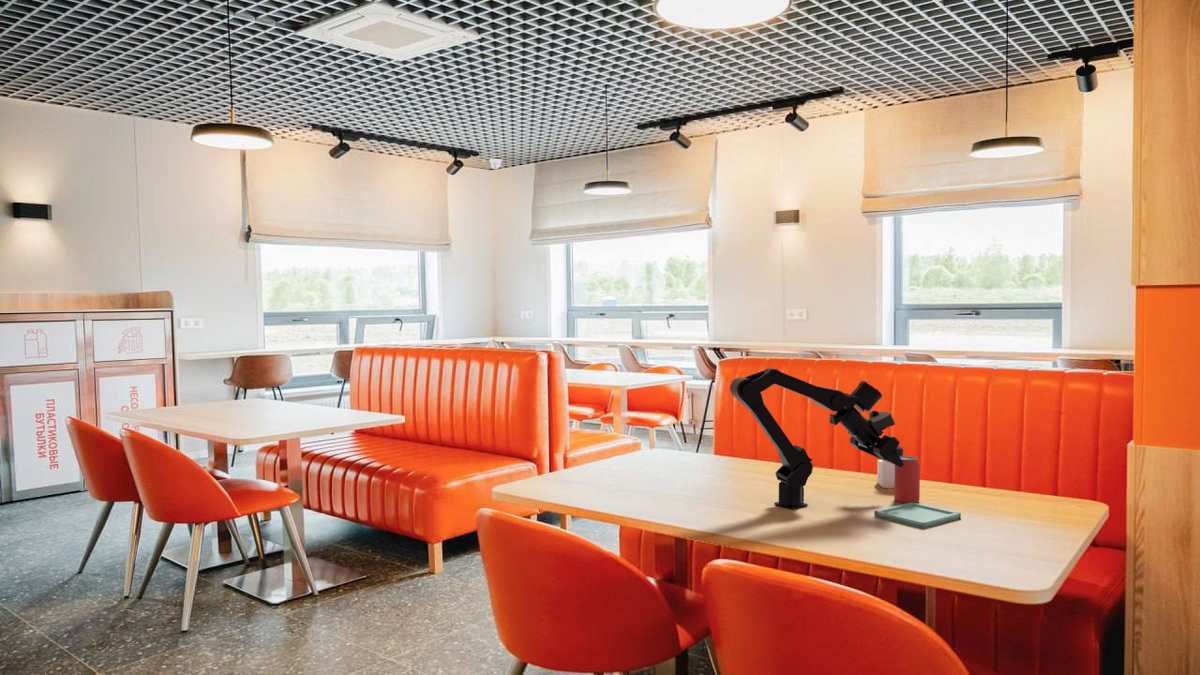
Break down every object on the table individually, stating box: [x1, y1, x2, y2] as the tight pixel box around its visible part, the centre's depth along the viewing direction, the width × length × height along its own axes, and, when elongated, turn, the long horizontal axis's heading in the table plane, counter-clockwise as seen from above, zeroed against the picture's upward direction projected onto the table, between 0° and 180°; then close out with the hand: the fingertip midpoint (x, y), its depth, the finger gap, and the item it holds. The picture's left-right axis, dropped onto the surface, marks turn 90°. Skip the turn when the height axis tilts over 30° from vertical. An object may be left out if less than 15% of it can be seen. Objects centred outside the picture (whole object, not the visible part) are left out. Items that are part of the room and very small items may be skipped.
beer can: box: [893, 455, 921, 504], centre depth 226 cm, size 7×7×12 cm
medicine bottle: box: [876, 445, 904, 489], centre depth 245 cm, size 7×7×12 cm
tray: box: [873, 502, 962, 529], centre depth 209 cm, size 16×14×1 cm
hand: (893, 462), depth 225 cm, fingers open, 9 cm apart
